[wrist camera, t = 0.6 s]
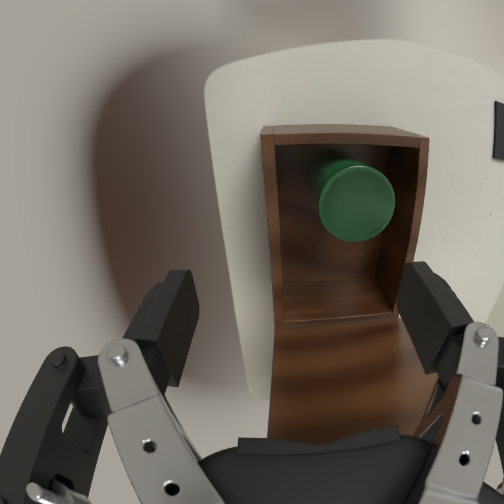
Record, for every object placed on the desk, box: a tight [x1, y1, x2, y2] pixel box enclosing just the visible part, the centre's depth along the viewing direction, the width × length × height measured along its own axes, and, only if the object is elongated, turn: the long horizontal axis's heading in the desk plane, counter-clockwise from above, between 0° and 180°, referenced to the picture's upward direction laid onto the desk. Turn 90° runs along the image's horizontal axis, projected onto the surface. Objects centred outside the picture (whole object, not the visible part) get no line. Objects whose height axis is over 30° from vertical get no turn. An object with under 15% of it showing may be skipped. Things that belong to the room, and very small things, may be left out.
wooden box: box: [260, 124, 429, 328], centre depth 28 cm, size 20×14×8 cm
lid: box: [267, 317, 439, 445], centre depth 19 cm, size 21×14×5 cm
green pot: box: [307, 149, 395, 242], centre depth 24 cm, size 6×6×9 cm
